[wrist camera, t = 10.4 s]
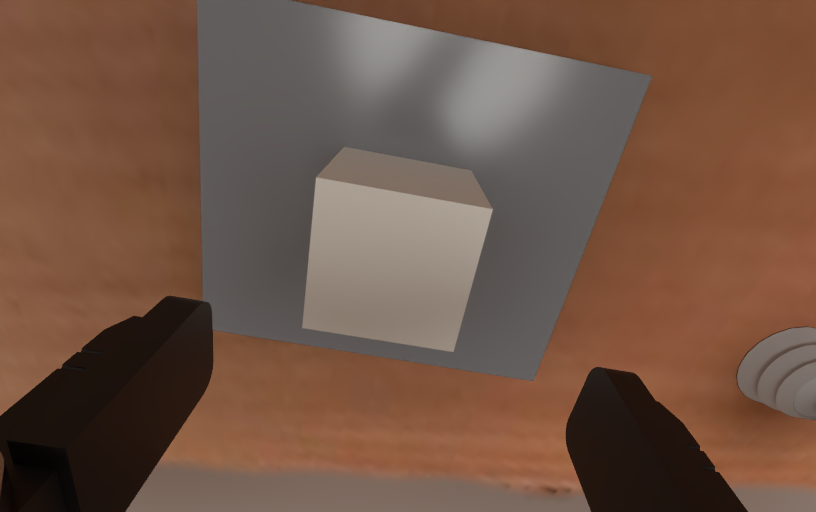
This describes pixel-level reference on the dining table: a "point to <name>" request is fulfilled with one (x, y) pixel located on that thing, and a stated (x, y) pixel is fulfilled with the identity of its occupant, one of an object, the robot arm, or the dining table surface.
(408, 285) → the cube
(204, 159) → the slate board
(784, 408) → the chalice
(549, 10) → the dining table surface
